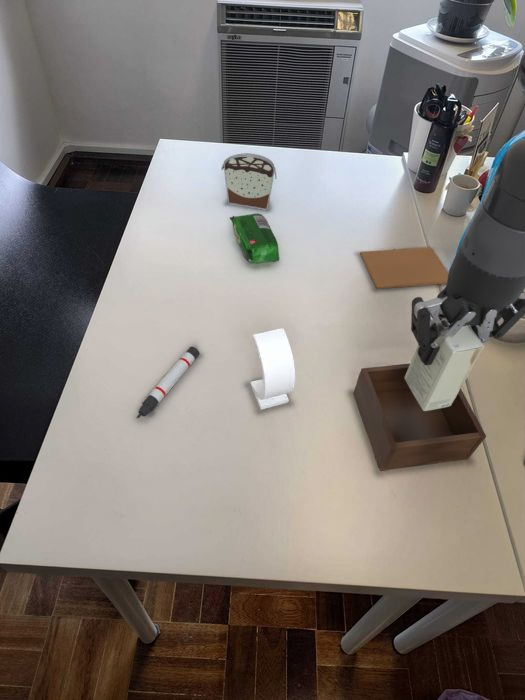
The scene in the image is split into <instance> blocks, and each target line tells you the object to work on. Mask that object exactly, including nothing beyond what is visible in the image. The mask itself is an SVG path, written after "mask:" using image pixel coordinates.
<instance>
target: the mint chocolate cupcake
mask: <svg viewBox="0 0 525 700" xmlns="http://www.w3.org/2000/svg"><path fill="white" fill-rule="evenodd" d="M221 171H223V172H224V180H225V188H226V196H227V203H228V205H234V206H241V207H246V208H251V209H259V210H263V211H268V209H269V205H270V204H269V203H270V198H271V193H272V187H273V183H274V180H277V169H276V166H275V163H274V161H272V160H271V159H270V158H268V157H266V156H264V155H261V154H258V153H257V154H256V153H251V152H250V153H249V152H247V153H246V152H244V153H243V152H242V153H237V154H232V155H230V156H229V157H227V158H225V159H224V160H223V163H222V166H221Z"/></svg>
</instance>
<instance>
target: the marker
mask: <svg viewBox="0 0 525 700" xmlns="http://www.w3.org/2000/svg"><path fill="white" fill-rule="evenodd" d="M199 355H200V350H199V349H198V348H197V347H196V346H189V348H188V349H187V350H186V351H185V352H184V353H183V354H182V356H181V357H180V358H179V359H178V360H177V362H175V363H174V365H173V366H172V367H171V369H169V370H168V372H167V373H166V374H165V375H164V377H162V379H160V381H159V382H158V383H157V384H156V385H155V387H154V388H153V389H152V390H151V392H150V393H149V394H148V395H147V397H146V398H145V399H144V400H143V402H142V405H141V407H140V408H139V409H138V415H137V416H136V418H137V419H140V418H141V416H142V417H145V416H146V415H147V414H148V413H150V412H153V411H154V410H155V409H156V408H157V406H158V405H159V404H160V403H161V402H162V400H163V399H164V398H165V397H166V396H167V394H168V393H169V392H170V391H171V389H173V387H174V386H175V385H176V384H177V382H178V381H179V380H180V379H181V378H182V376H183V375H184V374H185V373H186V371H187V370H188V369H189V368H190V367H191V365H192V364H193V363H194V362H195V360H196V359H197V358H198V356H199Z"/></svg>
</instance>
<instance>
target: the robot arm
mask: <svg viewBox="0 0 525 700" xmlns="http://www.w3.org/2000/svg"><path fill="white" fill-rule="evenodd" d="M517 80H518V85H519V86H518V87H519V88H520V91H521V93H522V94H523V95H524V96H525V49H524V51H523V53H522V55H521V58H520V61H519V65H518V69H517ZM447 273H448V279H447V284H445V287H444V288H443V289H442V290H440V292H439V293H438V294H437V296H436V298H431V299H428V300H425V301H424V299H423V297H421V296H417V297H414V298H413V299H412V300H411V313H410V314H411V315H410V317H411V318H410V319H411V320H410V322H411V323H410V330H411V332H412V334H413V336H414V338H415V340H416V343H417V345H418V344H419V348H418V351H417V353H418V355H419V357H420V359H421V362H423V363H424V365H431V364H432V362H433V360H434V358H435V356H436V354H437V352H438V350H439V348H440V345H441V344H442V343H443V342H444V341H445V340H446V339H447V337H453V336H454V335H455V334H456V333H457V332H458V331H459V330H460V329H461V328H462V327H463V326H467V325H469V326H470V327H471V329H472V330H473V331H474V333H475V334H476V335H477V337H478V338H479V339H480V341H481V342H482V344H484V343H487V341H489V338H492V337H493V338H494V339H496V340H497V339H500V338H503V337H504V336H505V335H506V334H507V333H508V331H510V330H511V328H513V327H514V326H515V324H517V323H518V322H519V321H520V320H521V319H522V318H523V316H525V292H524V290H525V137H524V138H521V139H519V140H516V141H515V142H513V143H512V144H511V145H510V146H509V148H508V149H507V150H506V151H505V152H504V154H503V156H502V158H501V160H500V162H499V164H498V166H497V169H496V171H495V172H494V175H493V177H492V180H491V182H490V184H489V186H488V188H487V191H486V192H485V195H484V197H483V200H482V202H481V204H480V205H479V207H478V208H477V209H476V211H475V213H474V215H473V216H472V218H471V220H470V222H469V223H468V226H467V229H466V232H465V234H464V236H463V238H462V240H461V242H460V245H459V247H458V249H457V251H456V254H455V256H454V259H453V260H452V263H451V264H450V268H449V269H448V272H447ZM501 319H502V320H503V321H502V323H501V324H499V323H498V322H499V321H500V320H501ZM430 321H431V322H430ZM437 329H439V333H438V334H436V332H435V331H436V330H437Z"/></svg>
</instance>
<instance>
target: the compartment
mask: <svg viewBox="0 0 525 700" xmlns="http://www.w3.org/2000/svg"><path fill="white" fill-rule="evenodd" d="M410 363H411V362H410ZM410 363H400V364H391V365H389V364H388V365H381V366H370V367H362V368H360V370H359V371H360V372H359V374H358V378H357V379H356V383H355V387H354V389H353V393H352V395H353V399H354V401H355V404H356V406H357V409H358V412H359V414H360V418H361V421H362V424H363V426H364V430H365V432H366V436H367V439H368V441H369V444H370V448H371V450H372V452H373V455H374V458H375V461H376V464H377V467H378V470H379V471H380V472H382V471H391V470H398V469H406V468H413V467H421V466H427V465H435V464H443V463H450V462H458V461H467V460H469V459H470V458H471V456H472V455H473V454H474V452H476V450H477V449H478V448H479V446H480V445H481V444H482V443H483V442H484V440H485V439H486V438H487V435H486V433H485V431H484V429H483V427H482V426H481V423H480V421H479V420H478V418H477V416H476V413H474V410H473V408H472V407H471V404H470V403H469V401H468V399H467V397H466V395H465V393H464V391H463V389H462V388H461V389H460V390H459V392H458V394H457V396H456V397H455V399H454V401H453V403H452V404H451V406H448V407H444V408H439V409H434V410H429V411H423V410H422V408H421V406H420V405H419V403H418V401H417V400H416V398H415V396H414V395H413V393H412V391H411V389H410V388H409V386H408V384H407V382H406V380H405V375H406V373H407V370H408V368H409V365H410Z"/></svg>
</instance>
